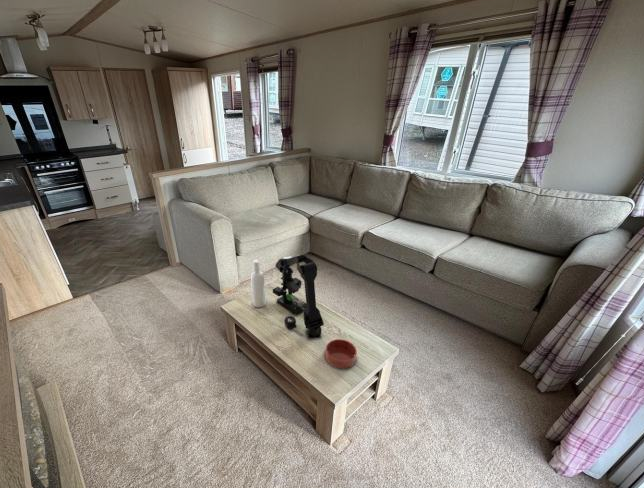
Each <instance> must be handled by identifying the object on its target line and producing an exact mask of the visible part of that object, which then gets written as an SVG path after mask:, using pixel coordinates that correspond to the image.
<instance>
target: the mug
mask: <svg viewBox="0 0 644 488" xmlns="http://www.w3.org/2000/svg"><path fill="white" fill-rule="evenodd" d="M285 316H286V317H284V321H283V322H284V326H285V328H286V329H288V330H292V329H294V331H295V332H297V333H299V334H301V335H302V333H300V332H299V331H298V330H296V329H295V328H297V320H296V318H295V317H294V316H292V315H288V314H287V313H285Z"/></svg>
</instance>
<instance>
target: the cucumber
mask: <svg viewBox="0 0 644 488" xmlns="http://www.w3.org/2000/svg"><path fill="white" fill-rule="evenodd" d="M292 295H293V294H292ZM292 295H290V294H288V293H286V299H287V300H288V301H293V299H294V298H293V296H294V295H293V296H292ZM281 297H283V296H282V295H281Z"/></svg>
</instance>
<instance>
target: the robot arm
mask: <svg viewBox="0 0 644 488" xmlns="http://www.w3.org/2000/svg"><path fill="white" fill-rule="evenodd" d="M301 263H304V264H301ZM274 265H275V268H276V269H277V270H278V271H279V273H281V277H280V280H281V283H280V285H281V287H280V286H276V287H274V288H273V289H272V293H273V294H274V295H276V296H277V297H282V296H283V298H284V299H285V300H286V293H288V294H290V295H293V294H296V293H298V292H299V290H300V289H301V288H302V282H304V293H305V303H306V305H307V306H306V308H304V309H303V312H302V313H303V322H304V326H305V329H306V333H307V338H308V339H320V338H322V336H321V335H322V327H323V326H324V325H325V322H324V320H323V317H322V315H321V311H320V309H319V308H318V307H317V299H316V286H315V280H316V278H317V277H318V266H317V263H315V261H314V260H313V259H311V258H309V257H308V256H306V254H304V253H301V254H298V255H295V256H293V255H289V256H286V257H285V256H284V257H281V258H279V259H278V260H277V262H276V263H275V264H274ZM295 265H296V271H297V272H298V273H299V275H300V278H301V279H302V280H303V281H302V280H301V279H299V278H297V277H296V276H295V277H293V273H294V270H293V268H292V267H294V266H295Z"/></svg>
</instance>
